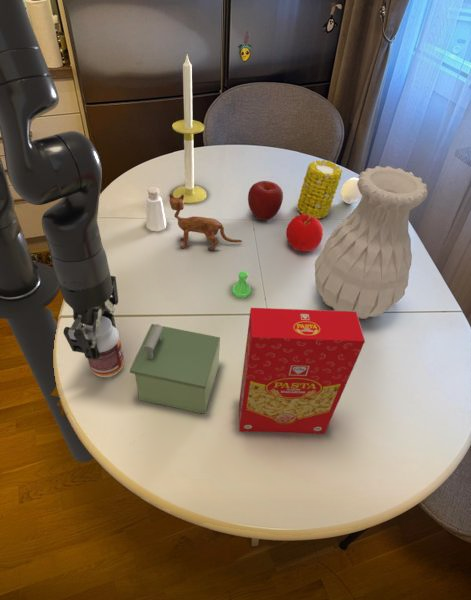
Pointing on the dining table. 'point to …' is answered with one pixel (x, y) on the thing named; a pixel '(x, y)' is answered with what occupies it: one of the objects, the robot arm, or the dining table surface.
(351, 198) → the egg
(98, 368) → the pill bottle
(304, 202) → the food
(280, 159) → the dining table surface
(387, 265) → the vase
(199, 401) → the bin
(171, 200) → the cat figurine
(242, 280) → the game piece
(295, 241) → the fruit
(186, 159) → the candle
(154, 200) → the pepper shaker
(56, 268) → the robot arm
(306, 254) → the dining table surface
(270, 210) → the apple
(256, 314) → the food packaging
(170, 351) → the bread bin lid
